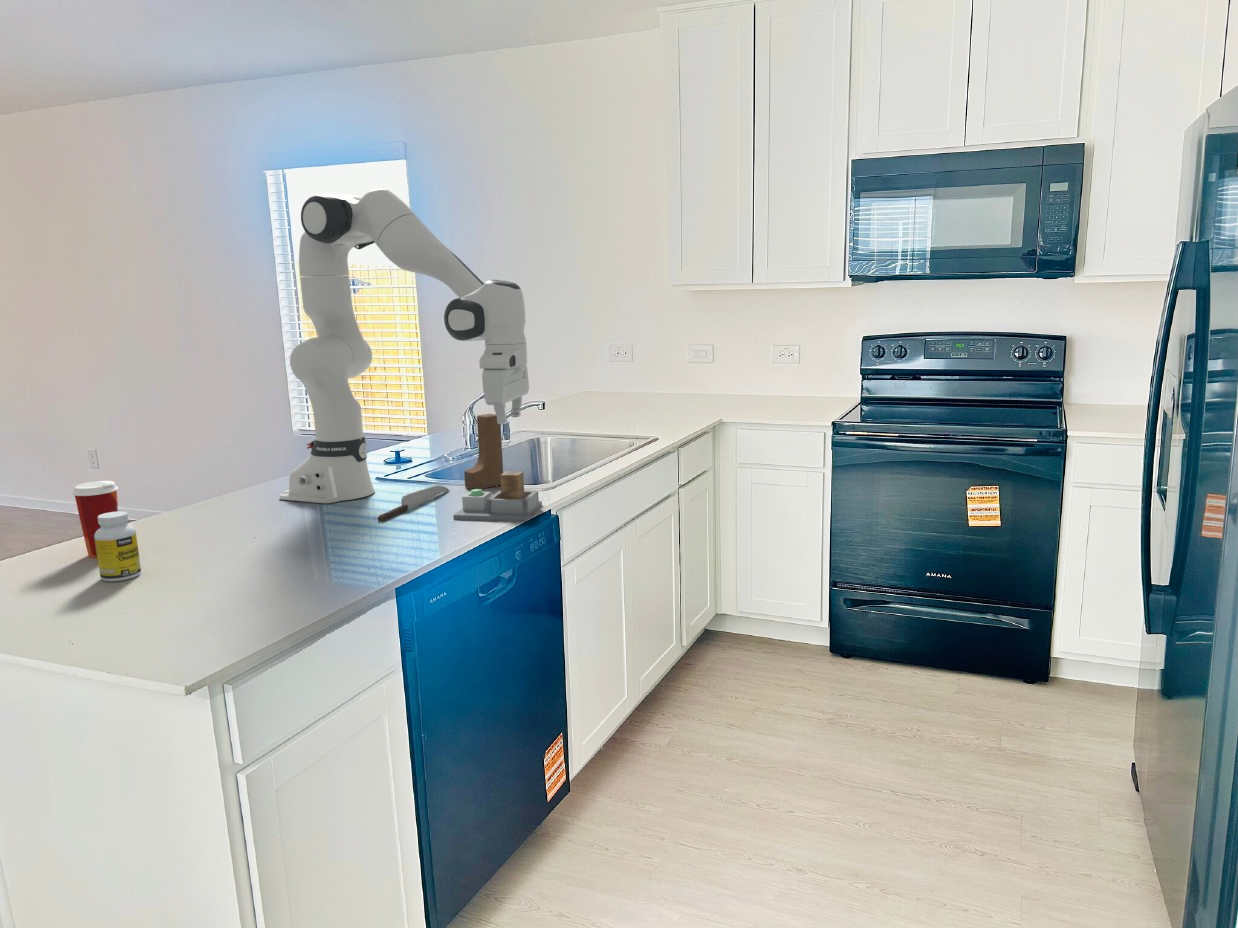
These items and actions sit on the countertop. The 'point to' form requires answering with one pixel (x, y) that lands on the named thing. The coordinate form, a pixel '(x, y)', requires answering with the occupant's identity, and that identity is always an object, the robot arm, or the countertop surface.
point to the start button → (476, 492)
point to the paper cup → (94, 508)
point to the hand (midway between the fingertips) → (509, 420)
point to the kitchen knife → (413, 501)
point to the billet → (512, 485)
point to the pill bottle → (117, 547)
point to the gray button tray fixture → (498, 507)
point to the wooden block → (486, 455)
